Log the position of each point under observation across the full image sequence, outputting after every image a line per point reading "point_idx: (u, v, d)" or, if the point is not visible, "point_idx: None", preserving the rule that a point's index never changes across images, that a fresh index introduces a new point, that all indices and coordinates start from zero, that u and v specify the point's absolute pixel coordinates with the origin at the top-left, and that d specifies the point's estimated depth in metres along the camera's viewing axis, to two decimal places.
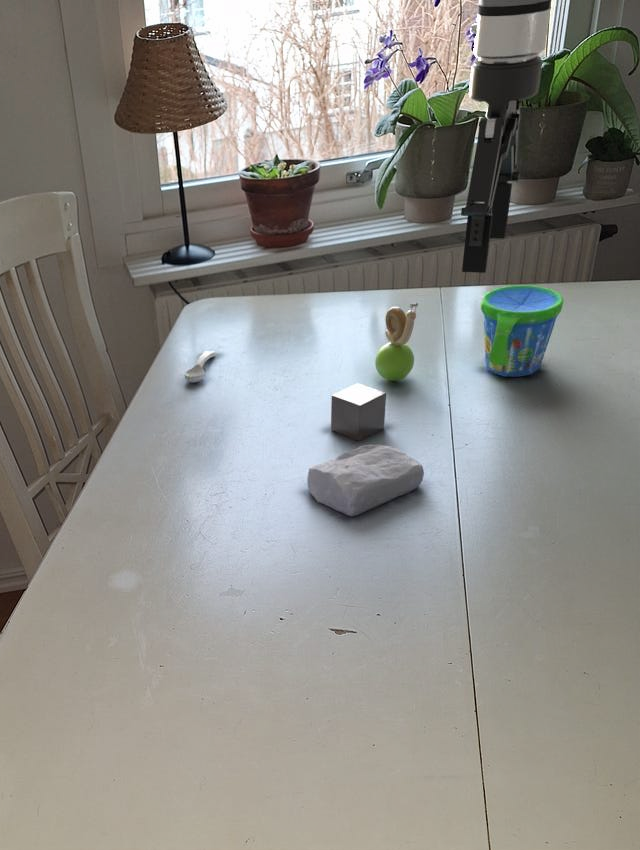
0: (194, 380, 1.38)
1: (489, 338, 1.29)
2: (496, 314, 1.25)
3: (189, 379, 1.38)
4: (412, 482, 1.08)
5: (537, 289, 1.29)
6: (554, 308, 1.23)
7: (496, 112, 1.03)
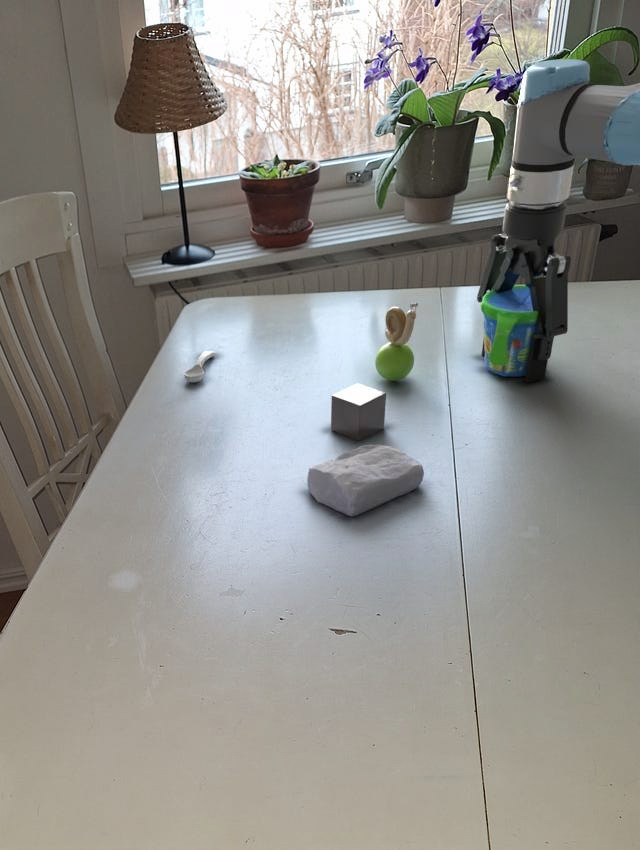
0: (194, 380, 1.38)
1: (489, 338, 1.29)
2: (495, 314, 1.25)
3: (189, 379, 1.38)
4: (412, 482, 1.08)
5: None
6: None
7: (548, 247, 1.19)
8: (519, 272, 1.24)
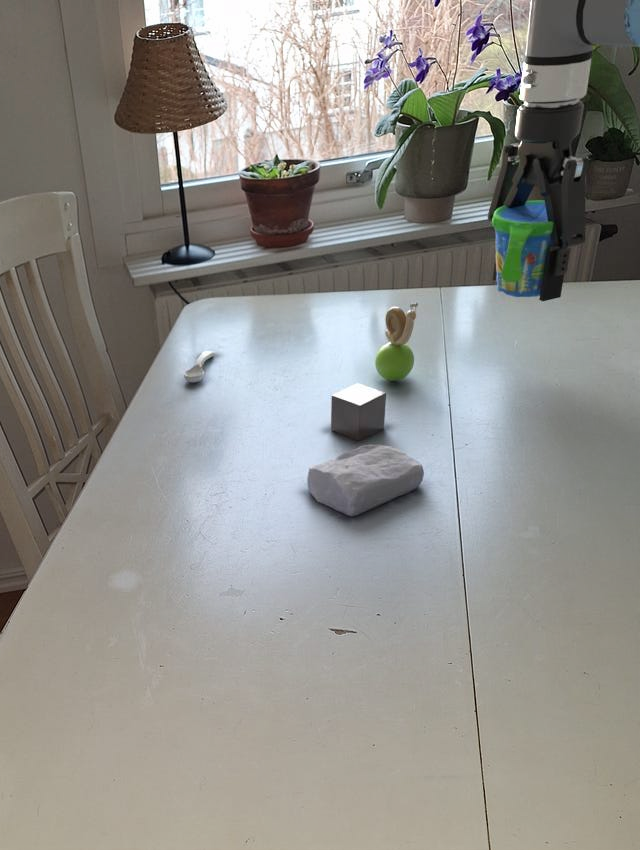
0: (194, 380, 1.38)
1: (501, 255, 1.21)
2: (508, 227, 1.18)
3: (189, 379, 1.38)
4: (412, 482, 1.08)
5: None
6: None
7: (564, 150, 1.12)
8: (533, 181, 1.17)
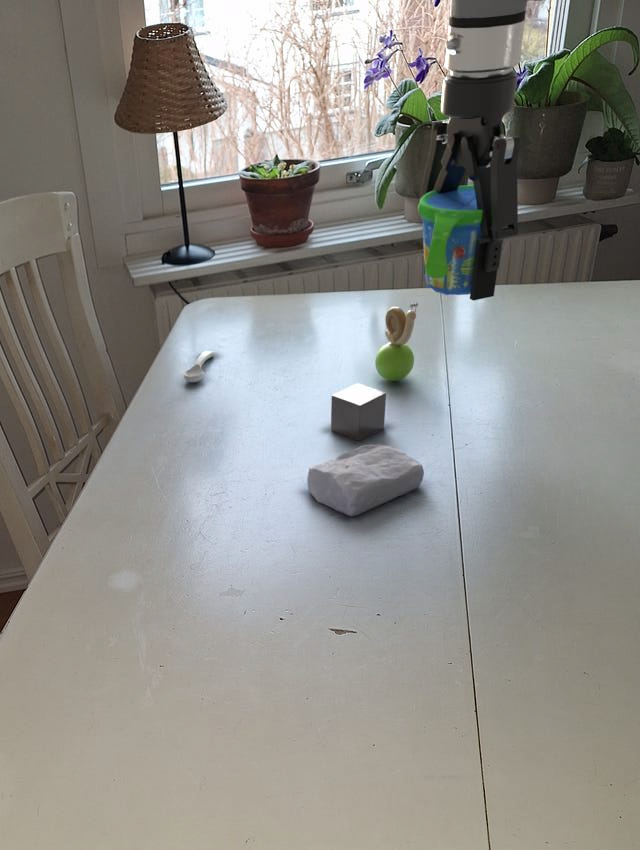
0: (193, 380, 1.38)
1: (428, 247, 1.07)
2: (433, 215, 1.03)
3: (188, 379, 1.38)
4: (412, 482, 1.08)
5: None
6: None
7: (494, 127, 0.97)
8: (462, 163, 1.02)
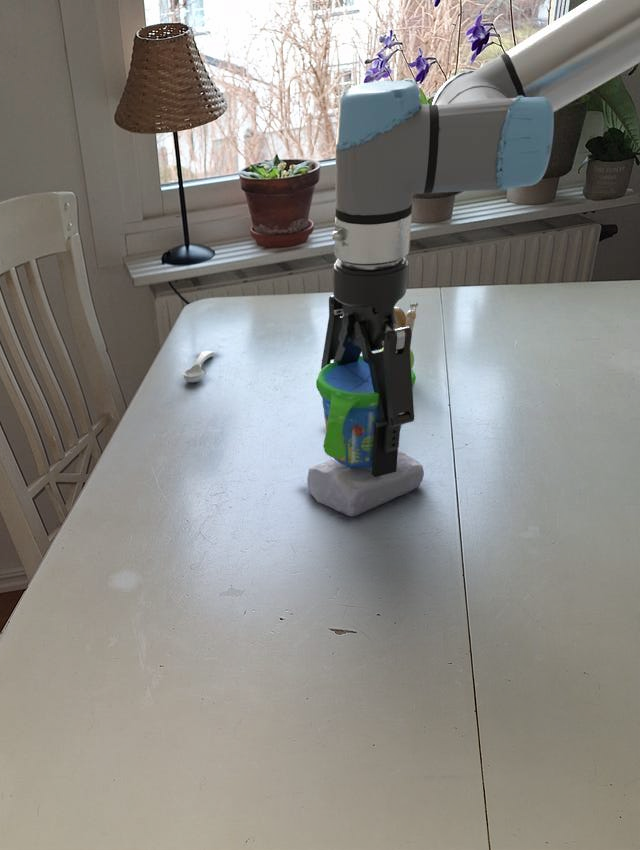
0: (193, 380, 1.38)
1: (327, 421, 1.04)
2: (330, 395, 1.00)
3: (188, 379, 1.38)
4: (412, 482, 1.08)
5: None
6: None
7: (386, 315, 0.94)
8: (358, 343, 0.99)
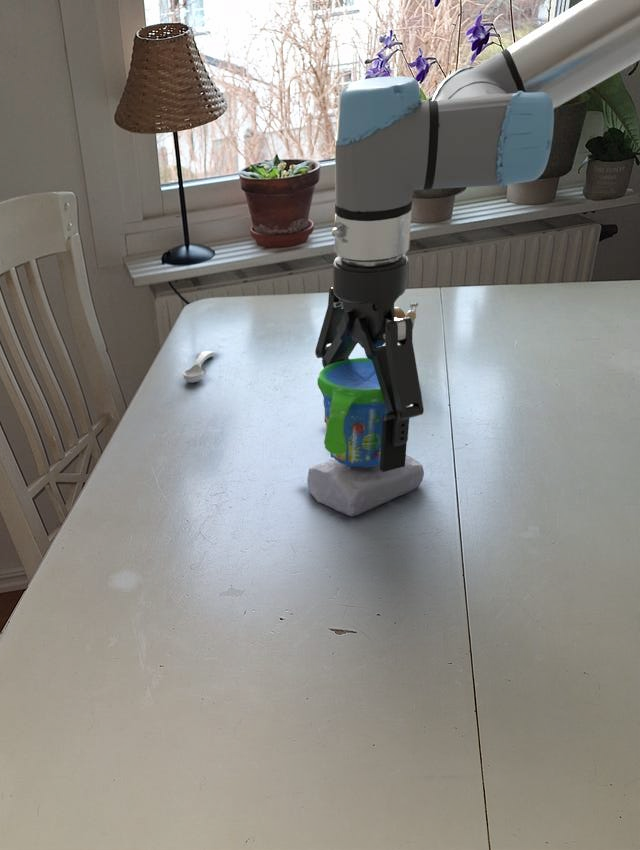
0: (193, 380, 1.38)
1: (328, 420, 1.04)
2: (331, 391, 1.01)
3: (188, 379, 1.38)
4: (412, 482, 1.08)
5: None
6: None
7: (386, 312, 0.94)
8: (358, 340, 0.99)
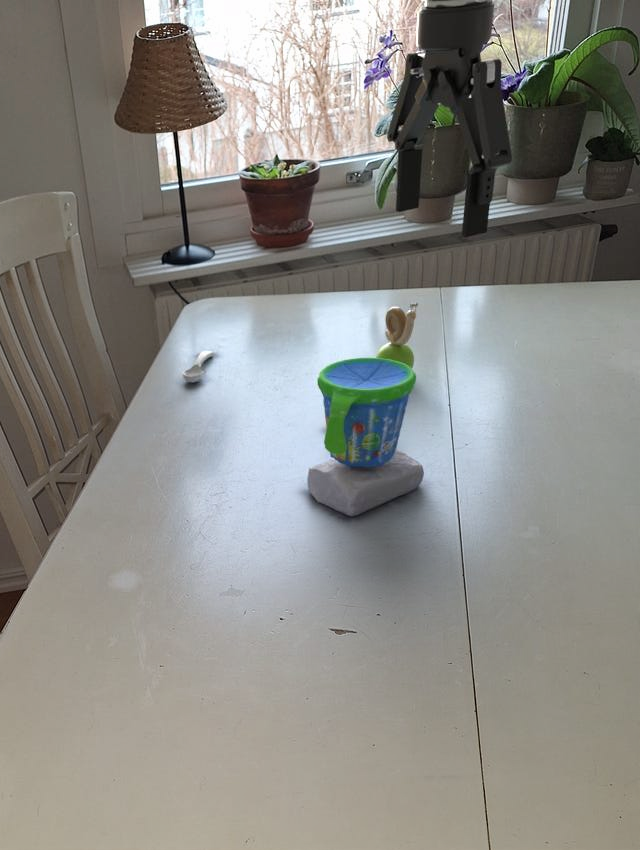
0: (193, 380, 1.38)
1: (328, 420, 1.04)
2: (331, 391, 1.01)
3: (188, 379, 1.38)
4: (412, 482, 1.08)
5: (388, 362, 1.05)
6: (401, 386, 0.99)
7: (473, 58, 0.94)
8: (440, 100, 0.99)
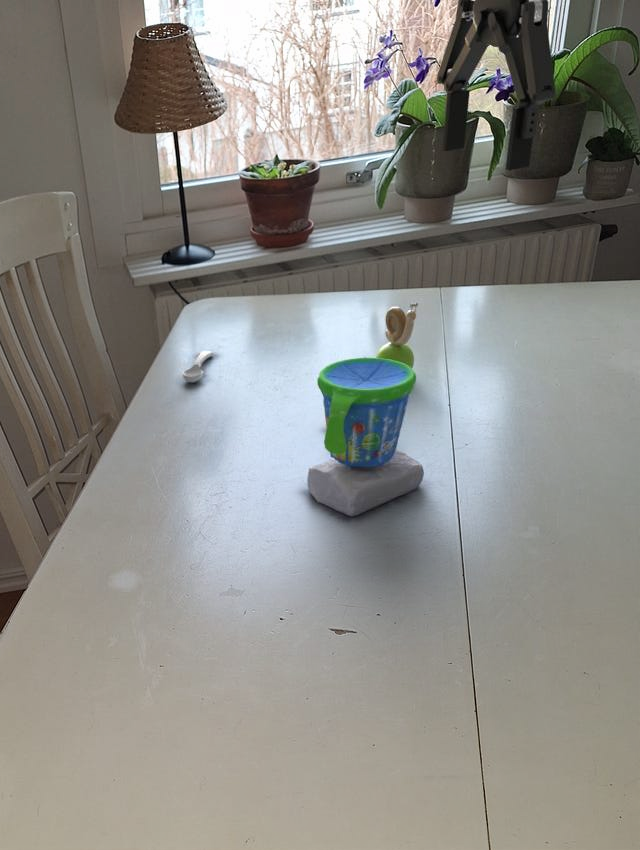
0: (193, 380, 1.38)
1: (328, 420, 1.04)
2: (331, 391, 1.01)
3: (188, 379, 1.38)
4: (412, 482, 1.08)
5: (388, 362, 1.05)
6: (401, 386, 0.99)
7: None
8: (489, 41, 1.06)
